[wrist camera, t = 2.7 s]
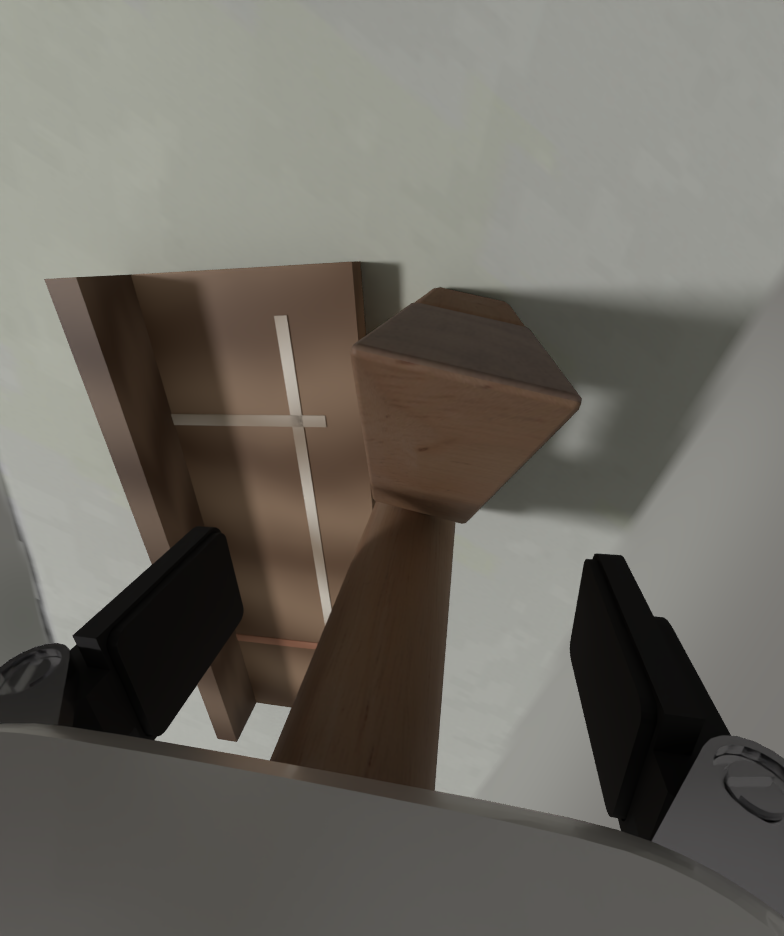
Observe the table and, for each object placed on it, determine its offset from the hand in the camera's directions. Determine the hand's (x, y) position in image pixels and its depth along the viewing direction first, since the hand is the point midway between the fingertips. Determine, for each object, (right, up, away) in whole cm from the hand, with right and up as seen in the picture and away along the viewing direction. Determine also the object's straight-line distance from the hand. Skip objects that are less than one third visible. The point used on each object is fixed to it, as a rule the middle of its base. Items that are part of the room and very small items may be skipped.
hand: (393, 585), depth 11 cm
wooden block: (+2, +6, +10) cm, 12 cm away
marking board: (-7, -1, +15) cm, 17 cm away
